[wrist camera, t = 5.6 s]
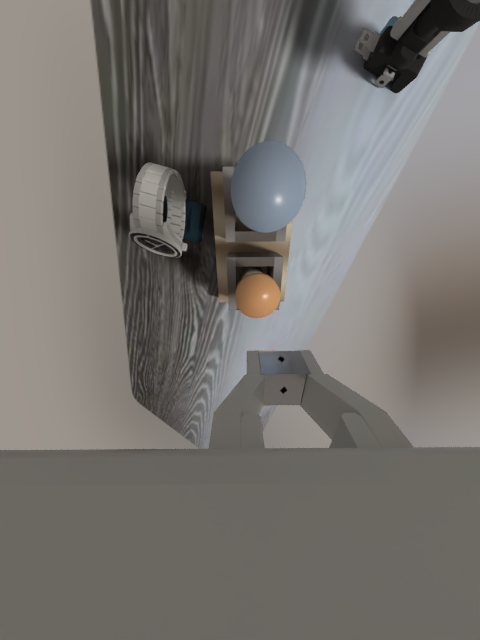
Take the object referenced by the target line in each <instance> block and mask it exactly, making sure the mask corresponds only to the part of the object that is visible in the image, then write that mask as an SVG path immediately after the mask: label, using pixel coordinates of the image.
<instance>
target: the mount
mask: <svg viewBox="0 0 480 640" xmlns="http://www.w3.org/2000/svg"><path fill="white" fill-rule="evenodd" d="M234 170H235V167H223V171H213V172H210V175H211V190H212V205H213V220H214V234H215V249H216V264H217V279H218V294H219V302H228V304H229V310H239V309H238V307H237V304H236V301H235V294H236V288H237V285H238V283H239V282H240V280H241V272H242V270H243V269H244V268H245V267H249V266H258V267H260V268H261V270H262V271H263V273H264V274H267V275H269V276H270V277H271V278H272V279H273V280H274V281H275V282H276V284H277V285H278V287H279V290H280V301H284V295H285V286H286V276H287V266H288V256H289V247H290V237H291V227H292V221H291V222H290V223H289V224H288V225H286V226H285V227H283V228H281V229H279V230H277V231H274V232H267V233H265V232H257V231H254V230H251V229H250V228H248V227H247V226H245V225H244V224H243V223H242V222H241V221H240V219H239V218H238V216H237V215H236V213H235V210H234V207H233V204H232V199H231V180H232V176H233V172H234ZM279 303H280V302H279ZM275 310H279V304H278V306H277V308H276V309H275Z"/></svg>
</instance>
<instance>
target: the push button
mask: <svg viewBox="0 0 480 640" xmlns="http://www.w3.org/2000/svg"><path fill="white" fill-rule="evenodd" d="M478 21H480V0H415V1H414V3H413V4H412V5H411V7H410V8H409V9H408V11H407V12H406V13H405V14H404V16H403V17H401V16H400V17H399V18H398V17H396V16H394V17H392V18H391V19H390V20H389V21H388V23H387V24H386V26H385V27H384V29H383V30H382V31H381V33H380V34H379V33H377V32H375V34H374V33H372V32H371V31H369V30H367V29H366V28H365V29H364V30H363V33H362V35H361V38H358V40H357V43H356V45H355V48H354V50H355V51H356V52H358V53H360V54H361V55H363V57H362V58H364V59H365V60H366V63H365V65H364V69H366V70H367V71H369V72H371V73H372V74H374V75H376V76H378V77H379V78H378V79H377V80H376V81H375V85H377V86H379V87H381V88H383V87H384V86H385V85H386V84H387V83H390V84H391V85H392V87H391V91H393V92H395V93H398V92H400V91H401V90H402V89H403V88H405V87H406V86H407V85H408V84H409V83H410V82H411V81H413V80H414V79H415V78H416V77H417V76H418V74H419V72H420V70H421V68H422V66H423V64H424V62H425V60H426V58H427V56H428V55H429V54H430V53H431V52H432V50H433V48H434V47H435V46H436V45H437V44H438V43H439V42H440V41H441V40H442V39H443V38H444V37H445V36H446V35H447V34H448V33H449V32H462V31H464V30H466V29H467V28H469V27H470V26H472V25H473V24H475V23H476V22H478ZM366 34H368V40H365V39H364V37H365V35H366ZM360 43H362V45H363V46H362V49H359V44H360ZM381 80H383V81H384V83H380V81H381Z"/></svg>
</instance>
